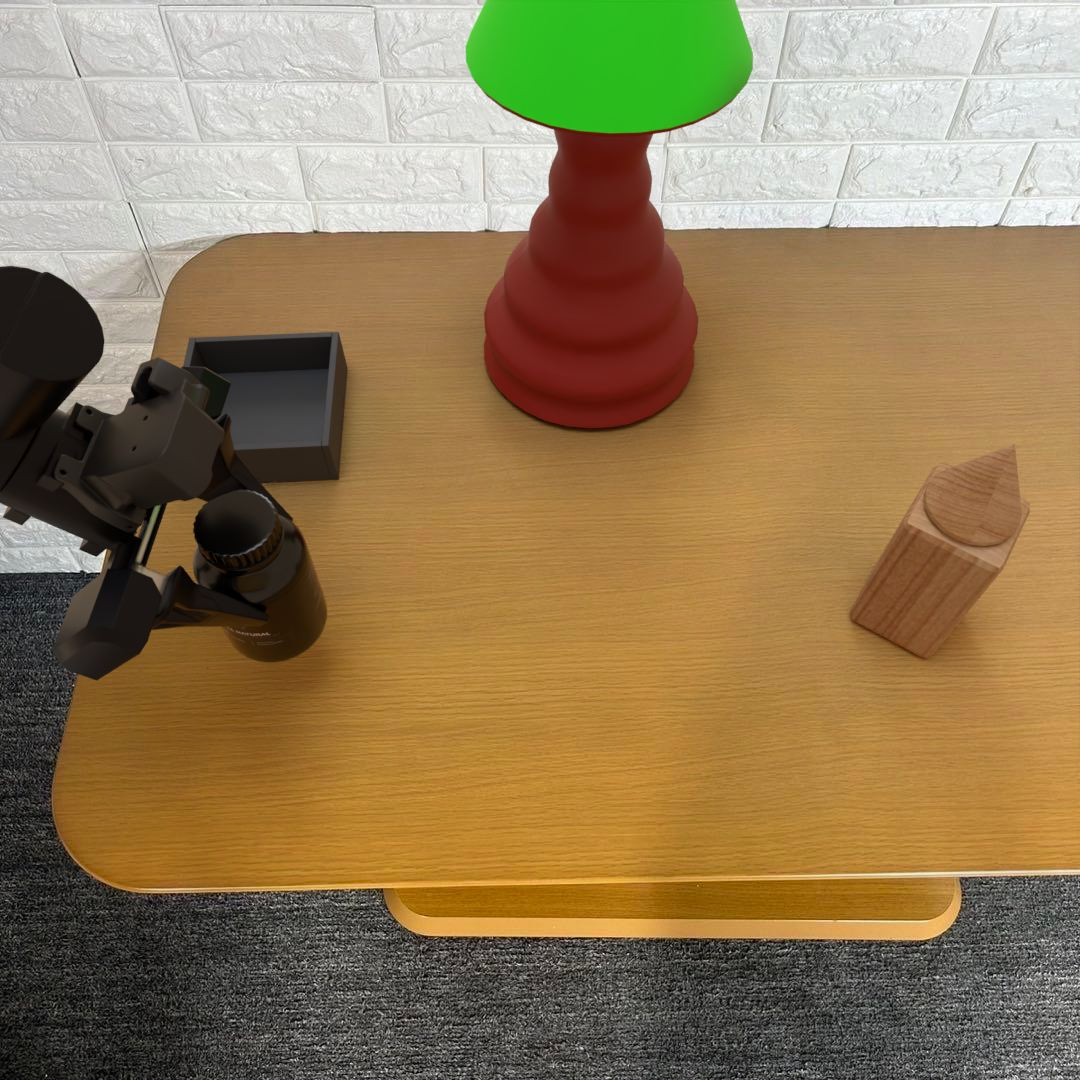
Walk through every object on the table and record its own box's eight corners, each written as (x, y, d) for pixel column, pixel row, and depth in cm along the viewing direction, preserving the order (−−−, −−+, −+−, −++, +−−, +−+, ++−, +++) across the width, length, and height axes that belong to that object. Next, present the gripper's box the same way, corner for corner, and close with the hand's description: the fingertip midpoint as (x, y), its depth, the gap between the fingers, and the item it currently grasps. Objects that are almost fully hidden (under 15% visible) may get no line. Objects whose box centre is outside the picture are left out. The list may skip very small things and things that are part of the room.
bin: (182, 486, 76) (163, 453, 72) (204, 373, 83) (189, 337, 80) (338, 479, 77) (328, 445, 73) (347, 367, 84) (338, 331, 80)
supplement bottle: (242, 681, 59) (184, 588, 49) (218, 599, 62) (160, 496, 52) (343, 644, 61) (307, 546, 51) (314, 565, 64) (276, 459, 54)
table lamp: (491, 279, 91) (459, -325, 53) (687, 285, 90) (794, -320, 53) (476, 429, 80) (423, -199, 42) (700, 436, 79) (846, -192, 42)
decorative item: (878, 560, 72) (980, 386, 56) (958, 600, 70) (1089, 433, 54) (844, 619, 69) (942, 455, 52) (927, 664, 67) (1056, 508, 50)
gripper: (8, 545, 37) (325, 673, 46) (141, 249, 47) (378, 401, 56) (-75, 626, 44) (216, 725, 53) (57, 351, 54) (281, 473, 63)
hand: (277, 571), depth 56 cm, fingers closed on supplement bottle, 7 cm apart
